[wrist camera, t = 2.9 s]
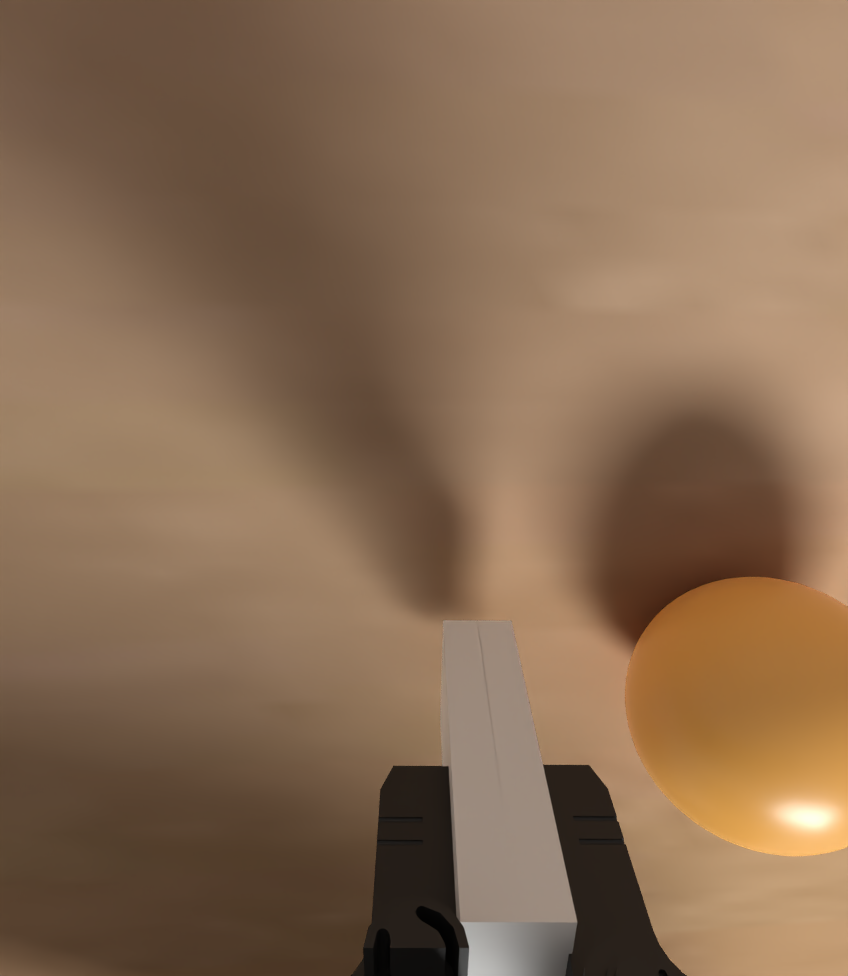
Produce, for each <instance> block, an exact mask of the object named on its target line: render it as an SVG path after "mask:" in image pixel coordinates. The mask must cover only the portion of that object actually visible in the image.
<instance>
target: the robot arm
mask: <svg viewBox="0 0 848 976" xmlns="http://www.w3.org/2000/svg"><path fill="white" fill-rule="evenodd" d="M440 724H441V749H442V766H393V768H392V770H391V771H390V773H389V775H388V777H387V779H386V780H385V782H384V784H383V786H382V788H381V789H380V804H379V822H378V835H377V850H376V865H375V881H374V896H373V911H372V923H371V925H370V926H369V928H368V932H367V936H366V940H365V943H364V947H363V954H364V958H363V960H362V962H361V963H360V964H359V966H358V967H357V968H356V970H355V971H354V973H353V974H352V975H351V976H686V975H685V974H684V973H682V972H681V971H680V970H679V969H678V968H677V967H676V966H675V965H674V964H673V963H672V962H671V961H670V960H669V958H668V957H667V955H666V954H665V952H664V951H663V949H662V948H661V946H660V945H659V943H658V941H657V938H656V936H655V934H654V931H653V929H652V926H651V923H650V919H649V916H648V913H647V910H646V907H645V904H644V901H643V897H642V894H641V891H640V888H639V885H638V882H637V879H636V876H635V872H634V869H633V866H632V863H631V860H630V857H629V854H628V850H627V847H626V845H624V838H623V835H622V832H621V829H620V825H619V822H617V818H616V817H617V816H616V813H615V810H614V807H613V803H612V800H611V797H610V794H609V791H608V788H607V787H606V786H605V785H604V783H603V782H602V781H601V780H600V778H599V777H598V776H597V775H596V773H595V772H594V771H593V770H592V768H591V767H590V766H589V765H543V763H542V758H541V754H540V749H539V744H538V740H537V735H536V731H535V726H534V721H533V717H532V712H531V708H530V703H529V699H528V694H527V689H526V685H525V680H524V676H523V671H522V666H521V662H520V657H519V653H518V648H517V644H516V639H515V634H514V630H513V625H512V621H496V620H443V642H442V674H441V707H440Z"/></svg>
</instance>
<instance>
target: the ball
mask: <svg viewBox="0 0 848 976" xmlns="http://www.w3.org/2000/svg"><path fill="white" fill-rule="evenodd" d="M625 706H626V715H627V720H628V726H629V730H630V733H631V736H632V740H633V742H634V745H635V748H636V750H637V753H638V755H639V757H640V759H641V761H642V763H643V765H644V766H645V768H646V770H647V771H648V773H649V775H650V776H651V778H652V779H653V781H654V782H655V783H656V785H657V786H658V787H659V789H660V790H661V791H662V792H663V793H664V795H665V796H666V797H667V798H668V799H669V800H670V801H671V802H672V803H673V804H674V805H675V806H676V807H677V808H678V809H679V810H680V811H681V812H683V813H684V814H685V815H686V816H688V817H689V818H690V819H691V820H693V821H694V822H695V823H696V824H698V825H699V826H701V827H703V828H704V829H706V830H707V831H709V832H711V833H713V834H714V835H716V836H718V837H720V838H722V839H724V840H726V841H728V842H731V843H733V844H736V845H739V846H741V847H744V848H747V849H751V850H754V851H758V852H763V853H768V854H775V855H783V856H809V855H817V854H824V853H829V852H833V851H837V850H840V849H843V848H846V847H848V606H846V605H844V604H842V603H841V602H839V601H837V600H836V599H834V598H832V597H830V596H829V595H827V594H825V593H822V592H820V591H817V590H815V589H812V588H810V587H807V586H804V585H802V584H799V583H795V582H791V581H787V580H781V579H775V578H767V577H738V578H729V579H723V580H719V581H714V582H711V583H708V584H705V585H702V586H699V587H697V588H695V589H692V590H690V591H688V592H686V593H685V594H683V595H681V596H679V597H678V598H676V599H675V600H674V601H672V602H671V603H669V604H668V605H667V606H666V607H665V608H663V609H662V610H661V611H660V612H659V613H658V614H657V615H656V616H655V617H654V619H653V620H652V621H651V622H650V623H649V625H648V626H647V628H646V629H645V631H644V632H643V634H642V635H641V637H640V638H639V640H638V642H637V644H636V646H635V648H634V651H633V654H632V657H631V660H630V663H629V667H628V671H627V677H626V686H625Z"/></svg>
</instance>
